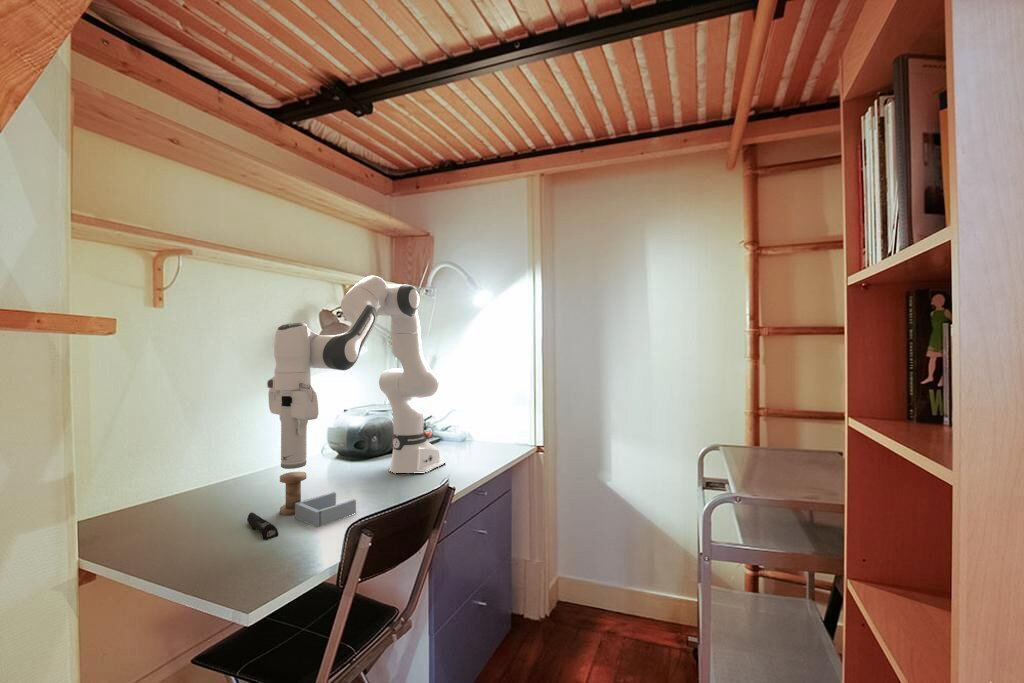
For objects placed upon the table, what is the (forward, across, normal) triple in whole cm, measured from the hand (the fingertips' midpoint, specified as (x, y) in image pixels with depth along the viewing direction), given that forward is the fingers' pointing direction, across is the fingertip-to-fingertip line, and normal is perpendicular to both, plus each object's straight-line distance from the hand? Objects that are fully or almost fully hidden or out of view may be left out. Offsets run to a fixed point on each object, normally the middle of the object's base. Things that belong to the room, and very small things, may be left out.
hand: (293, 433), depth 122 cm
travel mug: (+9, 0, 0) cm, 9 cm away
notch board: (+24, -3, -8) cm, 26 cm away
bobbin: (+24, +8, -4) cm, 26 cm away
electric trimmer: (+25, +2, +8) cm, 26 cm away
